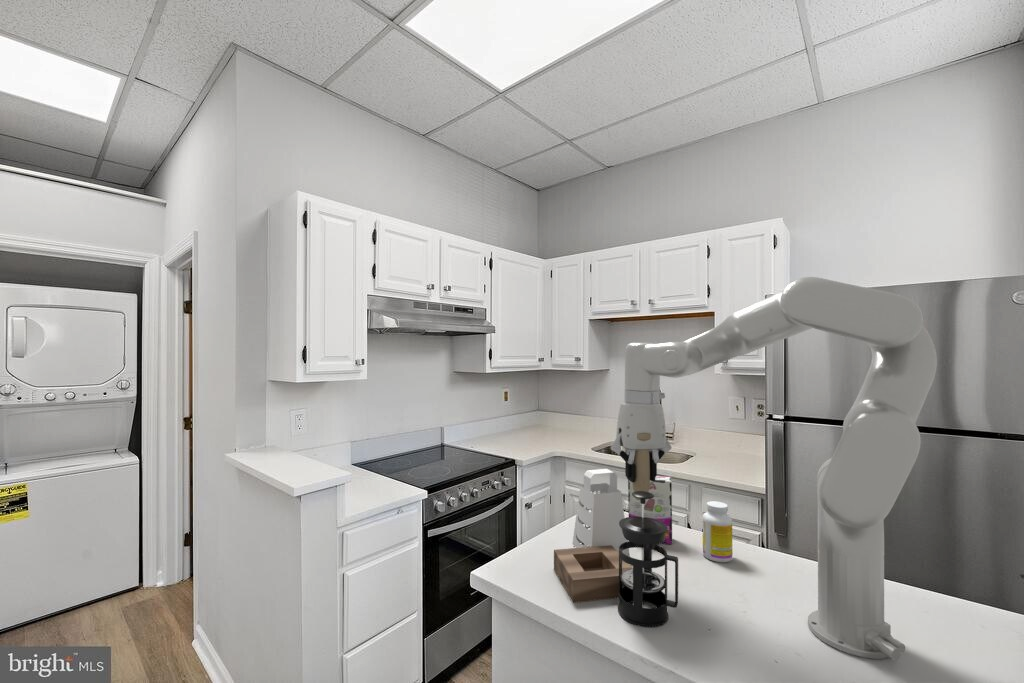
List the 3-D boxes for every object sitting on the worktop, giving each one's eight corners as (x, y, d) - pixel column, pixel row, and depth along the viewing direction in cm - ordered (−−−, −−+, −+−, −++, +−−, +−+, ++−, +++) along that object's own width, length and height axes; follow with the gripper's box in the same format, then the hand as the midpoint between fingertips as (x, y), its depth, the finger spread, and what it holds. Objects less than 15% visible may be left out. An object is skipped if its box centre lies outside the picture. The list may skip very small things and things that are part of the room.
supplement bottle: (738, 560, 111) (738, 507, 111) (717, 565, 108) (717, 510, 108) (717, 549, 117) (717, 498, 117) (696, 553, 114) (696, 501, 115)
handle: (654, 496, 105) (655, 429, 105) (649, 504, 99) (650, 434, 99) (632, 492, 107) (633, 427, 107) (626, 501, 101) (627, 432, 101)
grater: (572, 545, 119) (572, 467, 119) (608, 540, 122) (608, 464, 122) (590, 563, 109) (591, 478, 109) (630, 558, 112) (630, 475, 112)
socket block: (638, 596, 95) (638, 574, 95) (573, 602, 92) (573, 580, 92) (611, 564, 109) (611, 545, 109) (553, 569, 106) (553, 549, 106)
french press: (608, 618, 87) (608, 495, 87) (621, 594, 95) (621, 482, 96) (673, 636, 82) (673, 505, 82) (681, 609, 90) (681, 491, 90)
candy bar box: (671, 537, 124) (671, 476, 124) (672, 545, 119) (672, 481, 119) (628, 532, 127) (629, 472, 127) (627, 539, 123) (628, 477, 123)
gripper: (668, 395, 108) (667, 474, 108) (600, 396, 105) (599, 476, 105) (685, 399, 101) (684, 484, 100) (612, 400, 98) (611, 486, 98)
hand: (640, 479), depth 103 cm, fingers closed on handle, 4 cm apart
